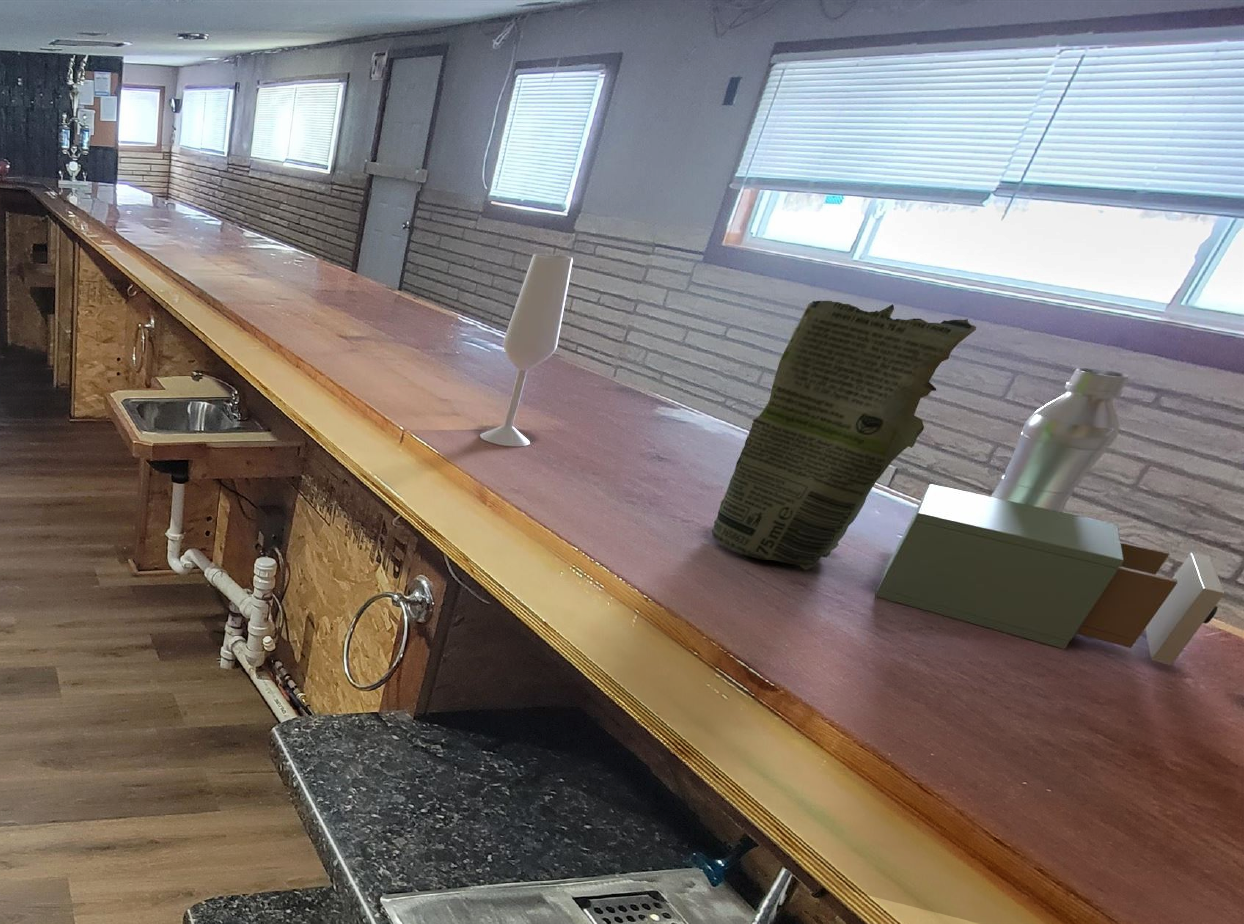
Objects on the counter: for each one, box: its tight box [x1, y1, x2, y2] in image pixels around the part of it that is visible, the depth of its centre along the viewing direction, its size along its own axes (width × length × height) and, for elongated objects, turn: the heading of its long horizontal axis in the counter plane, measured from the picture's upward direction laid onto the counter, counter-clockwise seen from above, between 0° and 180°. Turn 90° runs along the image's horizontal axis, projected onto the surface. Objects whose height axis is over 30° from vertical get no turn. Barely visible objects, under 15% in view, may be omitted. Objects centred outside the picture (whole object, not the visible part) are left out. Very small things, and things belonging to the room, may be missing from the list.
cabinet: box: [874, 483, 1124, 650], centre depth 83 cm, size 14×12×9 cm
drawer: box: [1075, 540, 1225, 666], centre depth 79 cm, size 14×10×7 cm
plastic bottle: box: [989, 367, 1130, 512], centre depth 88 cm, size 6×7×20 cm
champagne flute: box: [479, 253, 574, 447], centre depth 120 cm, size 7×7×24 cm
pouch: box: [710, 300, 977, 571], centre depth 87 cm, size 11×12×25 cm
